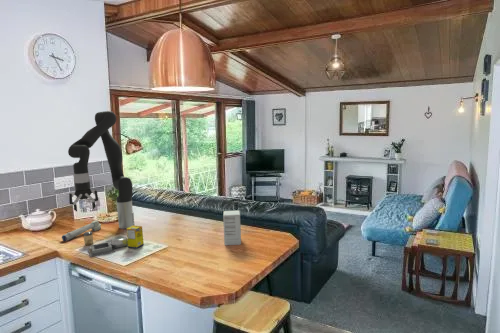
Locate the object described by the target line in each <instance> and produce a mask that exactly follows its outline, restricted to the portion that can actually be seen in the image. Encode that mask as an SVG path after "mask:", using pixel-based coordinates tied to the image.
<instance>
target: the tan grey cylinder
mask: <svg viewBox="0 0 500 333" xmlns="http://www.w3.org/2000/svg"><path fill="white" fill-rule="evenodd" d="M93 235H94V234H93V231H85V232H83V241H84V247H91V245H94V237H93Z"/></svg>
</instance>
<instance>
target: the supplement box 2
mask: <svg viewBox="0 0 500 333" xmlns="http://www.w3.org/2000/svg"><path fill="white" fill-rule="evenodd" d="M222 217H223V218H222V220H223V221H222V223H223V242H224V244H223V245H224V246H235V245H237V246H238V245H242V231H241V230H242V229H241V212H240V210H224V211H223V215H222Z"/></svg>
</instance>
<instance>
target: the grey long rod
mask: <svg viewBox="0 0 500 333" xmlns="http://www.w3.org/2000/svg"><path fill="white" fill-rule="evenodd" d="M101 228H102V224H101V223H100V222H99V220H93V221H91V223H89V224H88V223H87V224H86V225H83V226H80V227H79V228H77V229H74V230H72V231H69V232H66V233H65V234H63V235H62V236H61V240H62V241H63V242H68V241H70V240H72V239H73V238H76V237H77V236H80V235H81V234H84V233H85V232H88V231H89V230H92V231H91V232H96V231H100V230H101Z"/></svg>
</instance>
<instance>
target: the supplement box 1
mask: <svg viewBox="0 0 500 333" xmlns="http://www.w3.org/2000/svg"><path fill="white" fill-rule="evenodd" d="M126 238H127V240H128V246H127V247H128V248H129V249H139V248H140V247H142V246H144V245H145V244H144V234H143V226H142V225H135V224H134V225H133V226H131V227H129V228H126Z"/></svg>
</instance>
